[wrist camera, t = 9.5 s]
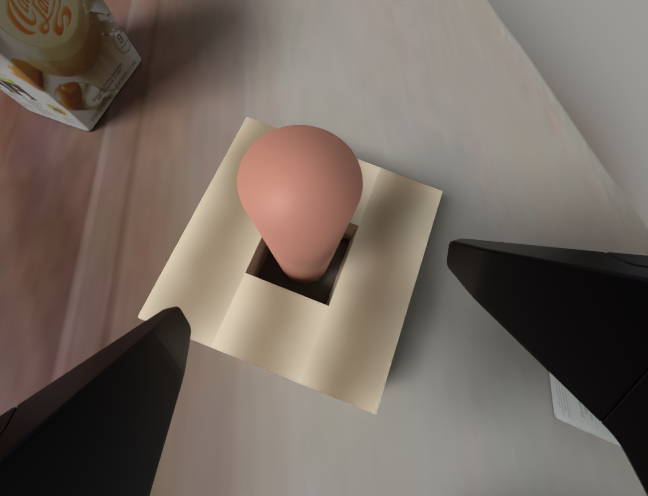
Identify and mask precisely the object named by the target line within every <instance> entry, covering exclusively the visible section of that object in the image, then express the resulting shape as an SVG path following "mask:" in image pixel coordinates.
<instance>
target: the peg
mask: <svg viewBox="0 0 648 496" xmlns="http://www.w3.org/2000/svg"><path fill="white" fill-rule="evenodd" d="M237 188H238V194H239V198H240V201H241V203H242V205H243V207H244V209H245V211H246V212H247V214H248V215H249V217H250V219H251V220H252V222H253V223H254V225H255V227H256V228H257V230H258V231H259V233H260V235H261V236H262V238H263V239H264V241H265V243H266V244H267V246H268V247H269V249H270V251H271V252H272V254H273V255H274V257H275V259H276V260H277V262H278V263H279V265H280V267H281V268H282V270H283V271H284V273H285V274H286V276H287V277H288V278H289V279H291V280H292V281H294V282H297V283H300V284H309V283H313V282H315V281H317V280H318V279H320V278H321V277H322V276H323V275H324V273H325V272H326V270H327V268H328V266H329V264H330V262H331V260H332V258H333V256H334V253H335V251H336V249H337V247H338V245H339V243H340V241H341V239H342V237H343V235H344V233H345V231H346V229H347V227H348V225H349V223H350V221H351V219H352V217H353V215H354V213H355V211H356V209H357V206H358V204H359V202H360V199H361V195H362V190H363V177H362V171H361V167H360V165H359V162H358V160H357V158H356V156H355V154H354V153H353V152H352V150H351V149H350V148H349V147H348V146H347V144H346V143H345V142H343V141H342V140H341V139H340V138H338V137H337V136H335V135H334V134H332V133H330V132H328V131H326V130H323V129H320V128H317V127H313V126H306V125H293V126H286V127H281V128H278V129H275V130H273V131H271V132H269V133H267V134H265V135H263V136H262V137H260V138H259V139H258V140H257V141H256V142H254V143H253V144H252V146H251V147H250V148H249V149H248V150H247V152H246V153H245V155H244V157H243V159H242V161H241V163H240V166H239V169H238V175H237Z"/></svg>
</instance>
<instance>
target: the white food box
mask: <svg viewBox="0 0 648 496" xmlns="http://www.w3.org/2000/svg"><path fill="white" fill-rule="evenodd" d="M140 62H141V57H140V56H139V54H138V53H137V51H136V50H135V48H134V47H133V45H132V44H131V42H130V41H129V39H128V38H127V36H126V35H125V33H124V32H123V30H122V29H121V27H120V25H119V24H118V22H117V21H116V19H115V18H114V16H113V15H112V13H111V12H110V10H109V9H108V7H107V6H106V4H105V3H104V1H103V0H0V89H1V90H2V91H4V92H5V93H6V94H8V95H9V96H11V97H12V98H13V99H15V100H16V101H17V102H19V103H20V104H22V105H23V106H24V107H26V108H27V109H28V110H30V111H32V112H35V113H38V114H41V115H43V116H46V117H49V118H51V119H54V120H57V121H60V122H62V123H65V124H68V125H71V126H74V127H77V128H79V129H82V130H85V131H90V130H92V128H93V127H94V126H95V124H96V123H97V121H98V120H99V119H100V117H101V116H102V115H103V113H104V112H105V111H106V109H107V108H108V106H109V105H110V104H111V102H112V101H113V99H114V98H115V97H116V95H117V94H118V92H119V91H120V90H121V88H122V87H123V85H124V84H125V83H126V81H127V80H128V79H129V77H130V76H131V74H132V73H133V72H134V70H135V69H136V67H137V66H138V65H139V63H140Z"/></svg>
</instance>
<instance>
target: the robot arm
mask: <svg viewBox="0 0 648 496" xmlns="http://www.w3.org/2000/svg"><path fill="white" fill-rule="evenodd" d="M447 265H448V267H449V269H450V270H451V271H452V273H453V274H454V275H455V276H456V277H457V279H458V280H459V281H460V282H461V284H462V285H463V286H464V287H465V288H466V290H467V291H468V292H469V293H470V294H471V295H472V297H473V298H474V299H475V300H476V301H477V302H478V303H479V304H480V305H481V306H482V307H483V308H484V309H485V310H486V311H487V312H488V313H489V314H490V315H491V316H492V317H493V318H495V319H496V320H497V321H498V322H499V323H500V324H501V325H502V326H503V327H504V328H505V329H506V330H507V331H508V332H509V333H510V334H511V335H512V336H513V337H514V338H515V339H516V340H517V341H518V342H519V343H520V344H521V345H522V346H523V347H524V348H525V349H526V350H527V351H528V352H529V353H530V354H531V355H532V356H533V357H534V358H535V359H536V360H538V361H539V362H540V363H541V364H542V365H543V366H544V367H545V368H546V369H547V370H548V371H549V372H550V373H551V374H552V375H553V376H554V377H555V378H556V379H557V380H558V381H559V382H560V383H561V384H562V385H563V386H564V387H565V388H566V389H567V390H568V391H569V392H570V393H571V394H572V395H573V396H574V397H575V398H576V399H577V400H578V401H579V402H580V403H582V404H583V405H584V406H585V407H586V408H587V409H588V410H589V411H590V412H591V413H592V414H593V415H594V416H595V417H596V418H597V419H598V420H599V421H602V424H603V425H604V426H605V427H606V428H607V429H608V430H609V431H610V433H611V434H612V435H613V436H614V437H615V439H616V440H617V441H618V443H619V444H620V446H621V447H622V449H623V450H624V452H625V454H626V456H627V458H628V460H629V462H630V463H631V465H632V467H633V469H634V471H635V473H636V475H637V477H638V479H639V481H640V482H641V484H642V486H643V488H644V490H645V492H646V494H647V496H648V256H644V255H633V254H622V253H612V252H607V253H604V252H596V251H586V250H576V249H566V248H555V247H545V246H535V245H524V244H514V243H504V242H493V241H483V240H473V239H457V240H453V241H451V242H450V244H449V249H448V256H447ZM190 337H191V327H190V324H189V322H188V320H187V319H186V317H185V315H184V313H183V312H182V310H181V309H180V308H179V307H177V306H175V307H170V308H166V309H163V310H162V311H160V312H159V313H157V314H156V315H154V316H152V317H151V318H149V319H148V320H146V321H145V322H143V323H142V324H140V325H139V326H137V327H136V328H134V329H133V330H131V331H130V332H128V333H127V334H125V335H124V336H122V337H121V338H119V339H118V340H116V341H114V342H113V343H111V344H110V345H108V346H107V347H105V348H104V349H102V350H101V351H99V352H98V353H96V354H95V355H93V356H92V357H90V358H89V359H87V360H86V361H84V362H83V363H81V364H79V365H78V366H76V367H75V368H73V369H72V370H70V371H69V372H67V373H66V374H64V375H63V376H61V377H60V378H58V379H57V380H55V381H54V382H52V383H51V384H49V385H48V386H46V387H44V388H43V389H41V390H40V391H38V392H37V393H35V394H34V395H32V396H31V397H29V398H28V399H26V400H25V401H23V402H22V403H20V404H19V405H18V406H17V408H16V407H14V408H11V409H10V410H8V411H7V412H5V413H4V414H2V415H1V416H0V496H150V492H151V489H152V485H153V482H154V478H155V475H156V471H157V468H158V464H159V461H160V457H161V454H162V450H163V447H164V444H165V440H166V437H167V433H168V430H169V426H170V423H171V419H172V416H173V412H174V409H175V405H176V402H177V398H178V395H179V391H180V388H181V384H182V381H183V377H184V373H185V368H186V362H187V355H188V349H189V343H190Z"/></svg>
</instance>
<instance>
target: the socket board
mask: <svg viewBox="0 0 648 496" xmlns="http://www.w3.org/2000/svg"><path fill="white" fill-rule="evenodd" d="M275 129H278V128H275V127H272V126H270V125H267V124H264V123H262V122H259V121H256V120H254V119H251V118H249V117H246V119H245V121H244V123H243V125H242V126H241V128H240V130H239V132H238V134H237V136H236V137H235V139H234V141H233V143H232V145H231V147H230V148H229V150H228V152H227V154H226V156H225V158H224V159H223V161H222V163H221V165H220V167H219V169H218V170H217V172H216V174H215V176H214V178H213V180H212V181H211V183H210V185H209V187H208V189H207V191H206V192H205V194H204V196H203V198H202V200H201V202H200V203H199V205H198V207H197V209H196V211H195V213H194V214H193V216H192V218H191V220H190V222H189V224H188V225H187V227H186V229H185V231H184V233H183V235H182V236H181V238H180V240H179V242H178V244H177V246H176V247H175V249H174V251H173V253H172V255H171V257H170V258H169V260H168V262H167V264H166V266H165V268H164V269H163V271H162V273H161V275H160V277H159V279H158V280H157V282H156V284H155V286H154V288H153V290H152V291H151V293H150V295H149V297H148V299H147V301H146V302H145V304H144V306H143V308H142V310H141V312H140V313H139V315H138V318H140V319H143V320H145V321H146V320H148V319H149V318H151V317H152V316H154V315H156V314H157V313H159V312H160V311H162V310H163V309H166V308H170V307H175V306H177V307H179V308H180V309H181V310H182V312H183V313H184V315H185V317H186V319H187V320H188V322H189V324H190V327H191V337H190V339H192V340H194V341H197V342H199V343H202V344H204V345H207V346H209V347H211V348H214V349H216V350H219V351H221V352H224V353H226V354H229V355H231V356H234V357H236V358H238V359H241V360H243V361H246V362H248V363H251V364H253V365H256V366H258V367H261V368H263V369H265V370H268V371H270V372H273V373H275V374H278V375H280V376H283V377H285V378H287V379H290V380H292V381H295V382H297V383H300V384H302V385H305V386H307V387H310V388H312V389H314V390H317V391H319V392H322V393H324V394H327V395H329V396H332V397H334V398H337V399H339V400H341V401H344V402H346V403H349V404H351V405H354V406H356V407H359V408H361V409H364V410H366V411H368V412H371V413H373V414H376V413H377V410H378V406H379V403H380V400H381V396H382V393H383V390H384V386H385V383H386V380H387V376H388V373H389V369H390V366H391V363H392V359H393V356H394V353H395V349H396V346H397V343H398V339H399V336H400V333H401V329H402V326H403V323H404V319H405V316H406V313H407V309H408V306H409V303H410V299H411V296H412V292H413V289H414V286H415V282H416V279H417V276H418V272H419V269H420V266H421V262H422V259H423V256H424V252H425V249H426V246H427V242H428V239H429V236H430V232H431V229H432V226H433V222H434V219H435V215H436V212H437V209H438V205H439V202H440V199H441V195H442V192H443V191H441V190H438V189H435V188H433V187H430V186H427V185H425V184H422V183H420V182H417V181H414V180H412V179H409V178H406V177H404V176H401V175H399V174H396V173H393V172H391V171H388V170H385V169H383V168H380V167H377V166H375V165H372V164H370V163H367V162H364V161H362V160H359V159H357V160H358V162H359V165H360V167H361V171H362V177H363V190H362V195H361V199H360V202H359V204H358V206H357V209H356V211H355V213H354V215H353V217H352V219H351V221H350V223H349V225H348V227H347V229H346V231H345V233H344V235H343V238H346V239H348V240H350V242H349V244H348V247H347V250H346V252H345V255H344V258H343V260H342V263H341V266H340V268H339V271H338V274H337V276H336V279H335V282H334V284H333V287H332V290H331V292H330V295H329V298H328V300H327V303H326V305H325V304H322V303H320V302H317V301H315V300H312V299H310V298H307V297H305V296H302V295H300V294H297V293H295V292H292V291H290V290H287V289H285V288H282V287H280V286H277V285H274V284H272V283H269V282H267V281H264V280H262V279H259V278H257V277H258V275H259V273H260V271H261V269H262V266H263V264H264V262H265V260H266V257H267V255H268V253H269V251H270V249H269V247H268V246H267V244H266V243H265V241H264V239H263V238H262V236H261V235H260V233H259V231H258V230H257V228H256V227H255V225H254V223H253V222H252V220H251V219H250V217H249V215H248V214H247V212H246V211H245V209H244V207H243V205H242V203H241V201H240V198H239V194H238V188H237V175H238V169H239V166H240V163H241V161H242V159H243V157H244V155H245V153H246V152H247V150H248V149H249V148H250V147H251V146H252V144H253V143H254V142H256V141H257V140H258V139H259V138H260V137H262V136H263V135H265V134H267V133H269V132H271V131H273V130H275Z"/></svg>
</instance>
